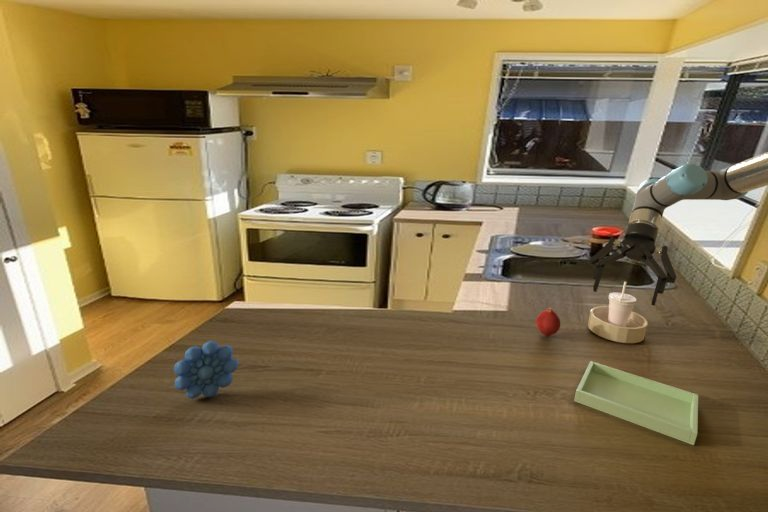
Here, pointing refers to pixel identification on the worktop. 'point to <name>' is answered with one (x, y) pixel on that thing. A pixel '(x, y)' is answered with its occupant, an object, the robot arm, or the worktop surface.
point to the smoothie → (620, 307)
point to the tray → (640, 401)
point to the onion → (548, 322)
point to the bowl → (627, 334)
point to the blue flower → (205, 369)
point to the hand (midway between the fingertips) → (623, 296)
